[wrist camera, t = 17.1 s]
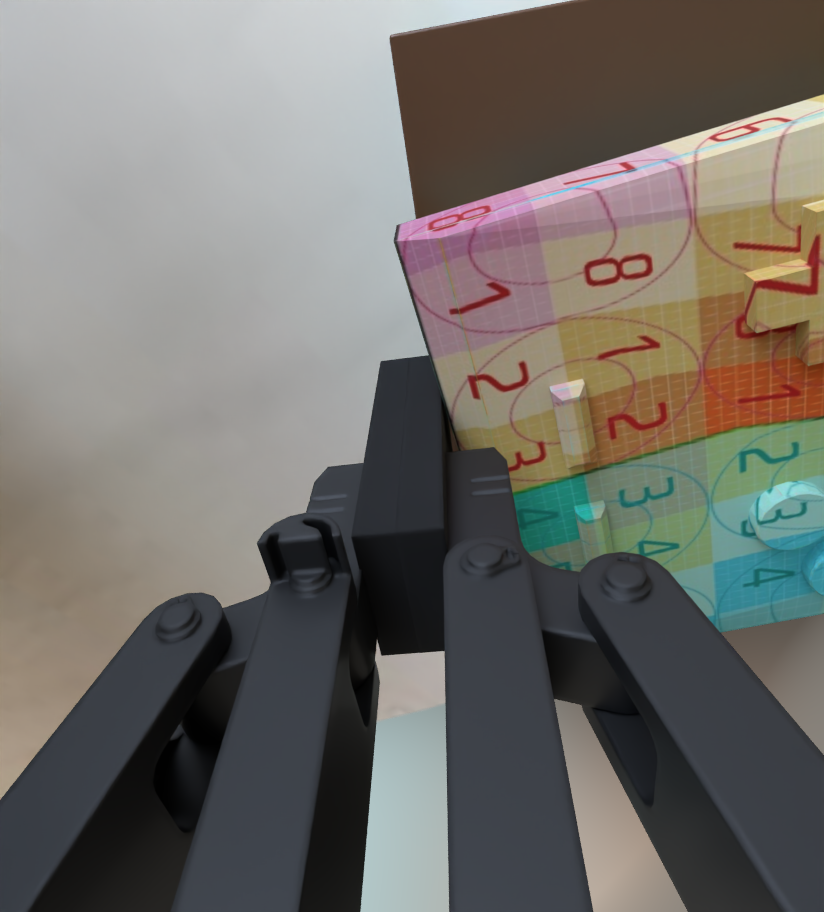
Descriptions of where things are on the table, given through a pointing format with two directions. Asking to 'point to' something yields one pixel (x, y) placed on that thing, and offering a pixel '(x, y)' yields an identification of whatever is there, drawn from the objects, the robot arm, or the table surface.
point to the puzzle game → (650, 357)
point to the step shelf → (590, 86)
